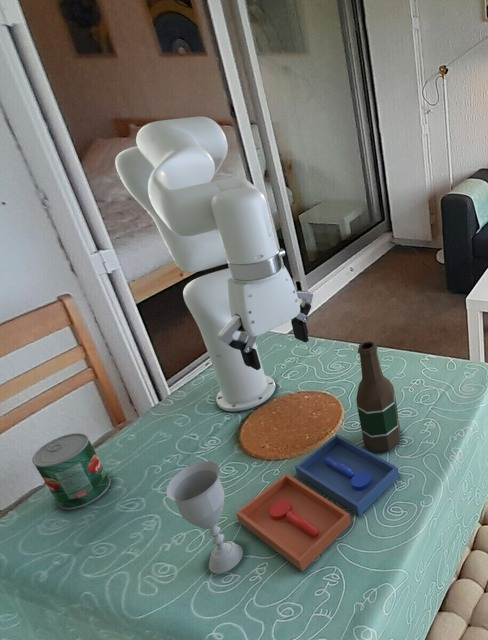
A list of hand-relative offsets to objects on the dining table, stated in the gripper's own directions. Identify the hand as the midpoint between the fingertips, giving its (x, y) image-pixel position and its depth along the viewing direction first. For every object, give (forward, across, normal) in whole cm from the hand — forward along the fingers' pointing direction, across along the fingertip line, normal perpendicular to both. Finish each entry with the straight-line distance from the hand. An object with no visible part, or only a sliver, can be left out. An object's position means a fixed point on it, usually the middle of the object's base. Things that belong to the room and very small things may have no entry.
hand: (279, 352), depth 89 cm
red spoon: (+26, +10, +10) cm, 30 cm away
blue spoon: (+26, -2, +10) cm, 28 cm away
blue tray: (+26, -2, +10) cm, 28 cm away
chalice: (+26, +21, +6) cm, 34 cm away
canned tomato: (+26, +27, -30) cm, 48 cm away
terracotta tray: (+26, +10, +10) cm, 30 cm away
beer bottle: (+26, -12, +9) cm, 30 cm away
